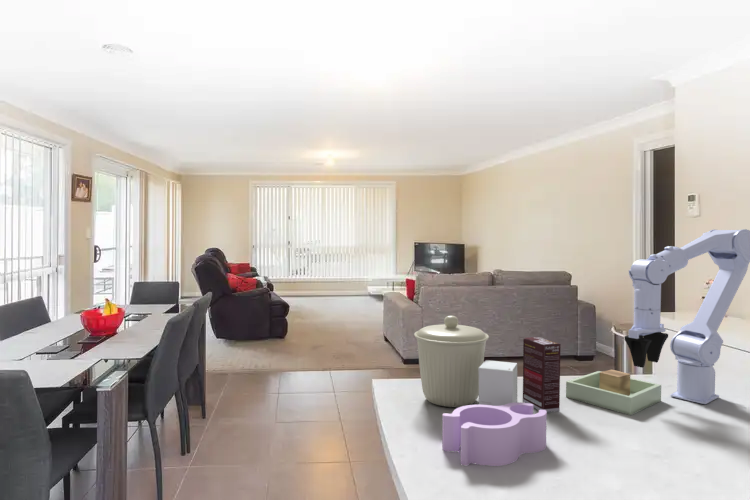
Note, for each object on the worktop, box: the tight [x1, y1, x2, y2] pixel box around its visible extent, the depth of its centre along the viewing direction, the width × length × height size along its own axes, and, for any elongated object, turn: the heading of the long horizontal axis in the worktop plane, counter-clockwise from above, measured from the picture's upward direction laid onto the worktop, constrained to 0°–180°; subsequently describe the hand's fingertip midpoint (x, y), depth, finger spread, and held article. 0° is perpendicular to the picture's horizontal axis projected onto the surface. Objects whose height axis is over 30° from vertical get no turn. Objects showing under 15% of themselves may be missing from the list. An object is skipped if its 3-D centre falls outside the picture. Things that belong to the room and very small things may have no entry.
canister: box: [413, 315, 490, 408], centre depth 123 cm, size 18×18×21 cm
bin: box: [565, 370, 662, 416], centre depth 125 cm, size 16×16×4 cm
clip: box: [441, 402, 548, 467], centre depth 96 cm, size 20×12×7 cm, turn 112°
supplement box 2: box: [522, 336, 561, 414], centre depth 120 cm, size 9×5×16 cm, turn 17°
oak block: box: [599, 368, 631, 396], centre depth 125 cm, size 5×5×6 cm
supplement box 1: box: [478, 359, 518, 406], centre depth 110 cm, size 7×7×13 cm
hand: (646, 364), depth 123 cm, fingers open, 7 cm apart
